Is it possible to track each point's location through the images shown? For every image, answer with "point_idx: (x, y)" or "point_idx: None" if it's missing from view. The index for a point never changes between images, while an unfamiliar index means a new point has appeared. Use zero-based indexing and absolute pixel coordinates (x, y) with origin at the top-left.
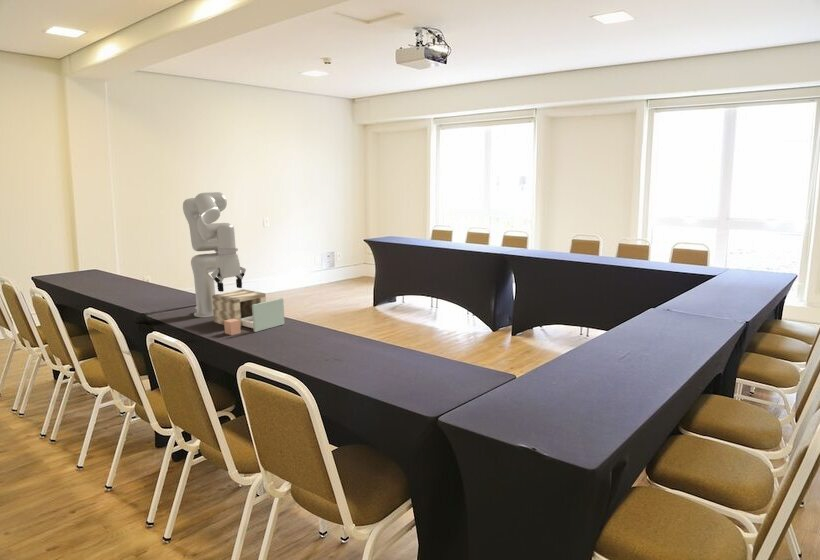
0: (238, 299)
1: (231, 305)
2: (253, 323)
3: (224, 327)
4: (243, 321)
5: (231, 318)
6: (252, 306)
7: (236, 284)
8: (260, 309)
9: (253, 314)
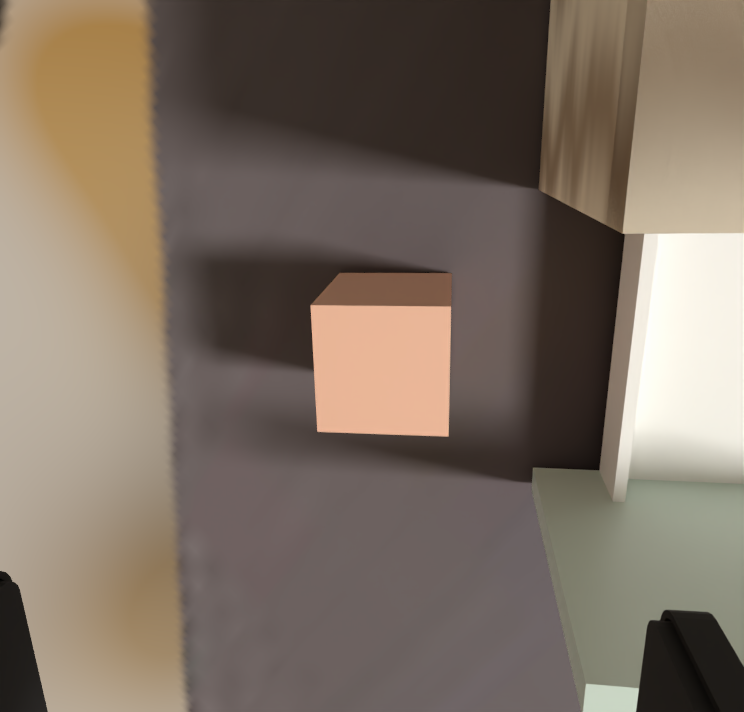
0: (741, 232)
1: (602, 113)
2: (544, 517)
3: (328, 286)
4: None
5: (560, 100)
6: (580, 674)
7: (691, 701)
8: None
9: (559, 597)
